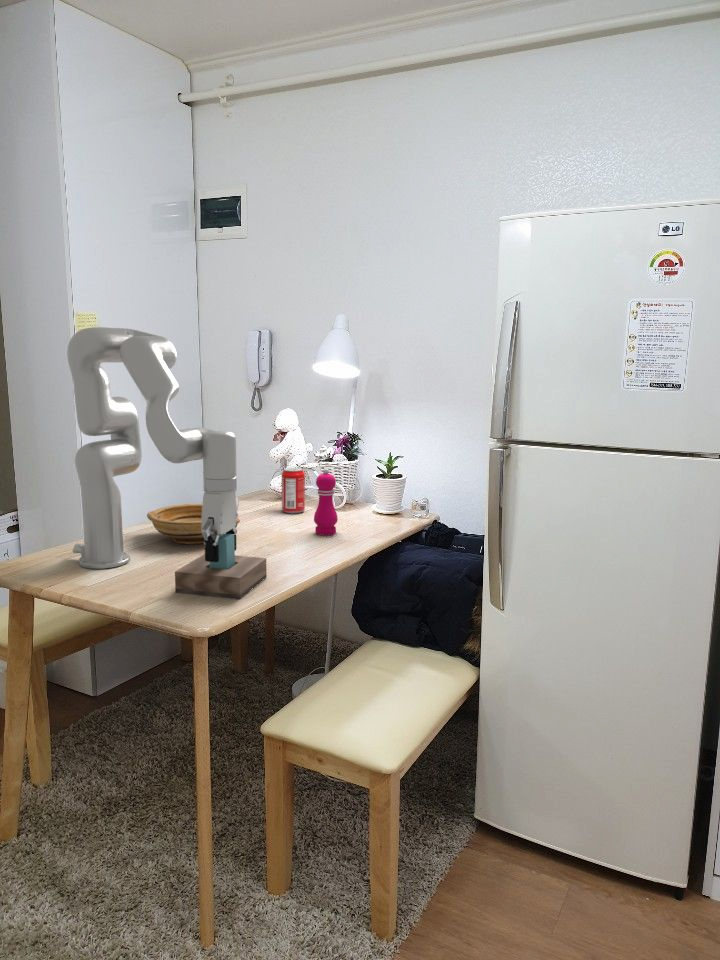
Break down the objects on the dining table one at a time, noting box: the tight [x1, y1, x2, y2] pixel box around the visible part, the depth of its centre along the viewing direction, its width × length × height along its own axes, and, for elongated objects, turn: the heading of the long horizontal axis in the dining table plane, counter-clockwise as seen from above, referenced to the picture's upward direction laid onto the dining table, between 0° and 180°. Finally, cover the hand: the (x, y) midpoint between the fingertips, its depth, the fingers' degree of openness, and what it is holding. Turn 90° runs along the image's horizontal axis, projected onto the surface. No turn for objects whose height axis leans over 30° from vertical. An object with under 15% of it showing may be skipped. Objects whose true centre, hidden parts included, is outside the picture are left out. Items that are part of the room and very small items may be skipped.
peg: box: [210, 533, 236, 569], centre depth 172 cm, size 4×4×11 cm
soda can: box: [281, 467, 306, 515], centre depth 248 cm, size 8×8×15 cm
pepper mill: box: [313, 467, 338, 536], centre depth 220 cm, size 7×7×20 cm
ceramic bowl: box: [146, 503, 241, 544], centre depth 213 cm, size 30×24×8 cm
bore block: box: [174, 553, 268, 600], centre depth 172 cm, size 16×16×5 cm
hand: (221, 555), depth 172 cm, fingers open, 9 cm apart
